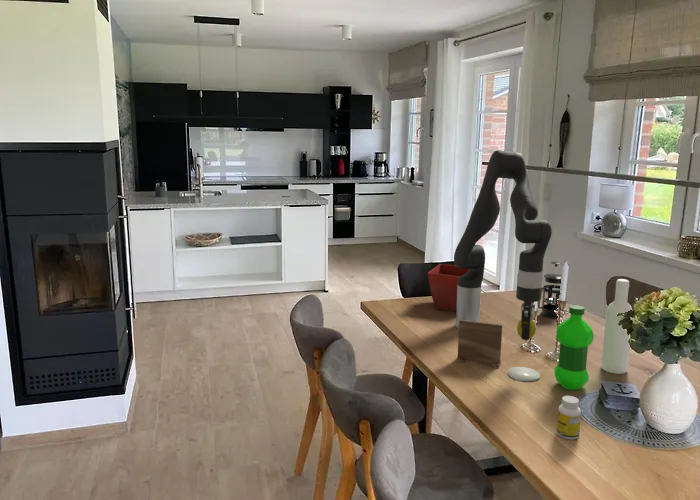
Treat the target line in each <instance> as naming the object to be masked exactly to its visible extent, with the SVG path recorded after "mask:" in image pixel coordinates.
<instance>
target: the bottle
mask: <svg viewBox="0 0 700 500" xmlns="http://www.w3.org/2000/svg"><path fill="white" fill-rule="evenodd" d="M629 289H630V280H628V279H625V278H618V279H617V280H616V282H615V293H614V294H615V295H614V300H613V301H612V302H610V303H609V304H608V307H607V309H606V313H605V323H604V333H603V334H604V336H603V344H602V352H601V353H602V355H601V365H600V368H601V369H602V370H603V371H605V372H606V373H611V374H614V375H615V374H616V375H617V374H618V375H623V374H625V373H628V368H629V357H630V350H631V349H630V348H631V345H630V346H629V343H628V339H629V336H628V335H627V331H626V330H625V329H623V328H622V327H621V326H619V325H618V323H619V319H620V318H618V317H617V313H625V312H628V311H630V310H632V311H633V308H632V306H631V304H630V303H629V302H628V296H629Z"/></svg>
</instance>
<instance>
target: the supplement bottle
mask: <svg viewBox="0 0 700 500" xmlns="http://www.w3.org/2000/svg"><path fill="white" fill-rule="evenodd" d="M579 406H580V400H579V399H578V397H575V396H572V395H564V396H562V397H561V404H560V405H559V406H558V410H557V411H558V412H557V425H556V433H557V435H558V436H560V437H561V438H562V439H565V440H571V441H573V440H577V439H578V438H579V437H580V430H581V429H580V428H581V421H582V420H581V417H582V410H581V408H580V407H579Z"/></svg>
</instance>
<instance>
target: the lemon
mask: <svg viewBox="0 0 700 500" xmlns="http://www.w3.org/2000/svg"><path fill="white" fill-rule="evenodd" d="M521 322H522V320H521V319H520V320H518V323H517V327H516V328H517V329H516V331H517V334H518V336H519V337H520V338H521V339H522V328H521ZM524 324H528V322H526V321H524ZM530 326H531V328H530V332H529V340H531V339H533V337H535V334H536V329H537V327H536V322H535V320H532V321H531V323H530ZM524 341H525V342H527V341H528V340H524Z"/></svg>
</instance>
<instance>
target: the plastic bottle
mask: <svg viewBox="0 0 700 500" xmlns="http://www.w3.org/2000/svg"><path fill="white" fill-rule="evenodd" d="M568 308H569V309H568V313H569V314H570V317H569V318H566V319H565V320H564V321H562V322H560V323H559V324H558V325H557V327H556V338H557V341H558V342H559V349H558V350H559V351H558V363H557V364H556V366H555V367H554V377H555V380H556V381H557V383H558V384H559V385H560V386H561V387H563V388H564V389H566V390H572V391H573V390H574V391H575V390H578V389H580V388H581V387H583V386H585V385H586V384H587V383H588V382H589V373H588V370H587V361H588V360H587V359H588V350H589V346H590V345H592V343H593V341H594V332H593V328H592V327H591V326H590V325H589V324H588V322H586V321H585V320H584V319H583V315H585V311H586V310H585V306H582V305H577V304H575V305H574V304H572V305H569V307H568Z"/></svg>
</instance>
